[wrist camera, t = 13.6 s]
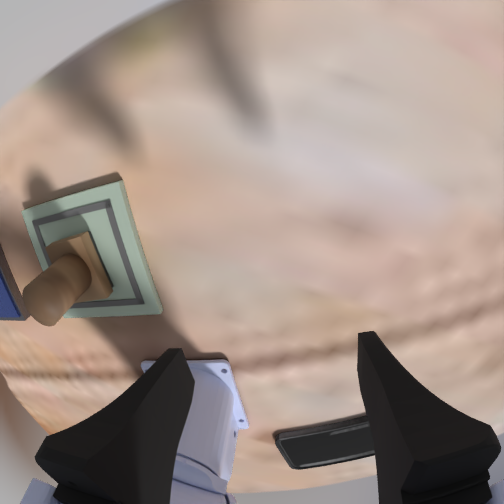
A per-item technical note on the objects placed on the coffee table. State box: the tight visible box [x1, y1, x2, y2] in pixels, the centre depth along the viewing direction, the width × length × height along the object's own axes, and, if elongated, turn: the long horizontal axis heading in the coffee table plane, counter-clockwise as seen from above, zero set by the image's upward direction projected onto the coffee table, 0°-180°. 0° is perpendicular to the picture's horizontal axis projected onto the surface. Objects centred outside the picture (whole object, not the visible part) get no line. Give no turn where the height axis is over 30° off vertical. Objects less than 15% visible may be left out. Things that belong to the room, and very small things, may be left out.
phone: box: [275, 416, 375, 470], centre depth 29 cm, size 8×1×15 cm
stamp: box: [23, 231, 114, 326], centre depth 19 cm, size 5×4×6 cm
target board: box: [21, 180, 163, 318], centre depth 22 cm, size 10×10×1 cm
